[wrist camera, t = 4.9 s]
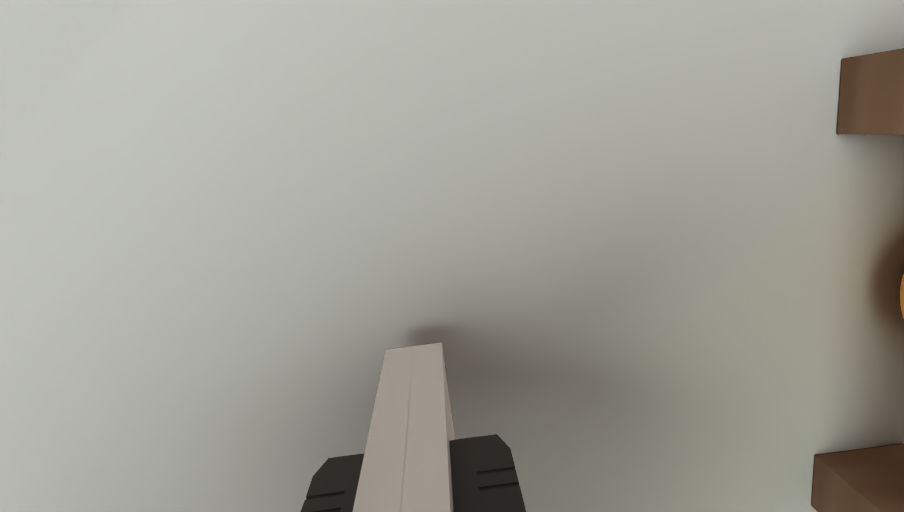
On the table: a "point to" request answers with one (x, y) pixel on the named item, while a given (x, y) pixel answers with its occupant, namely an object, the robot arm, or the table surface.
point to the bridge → (888, 467)
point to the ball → (902, 296)
